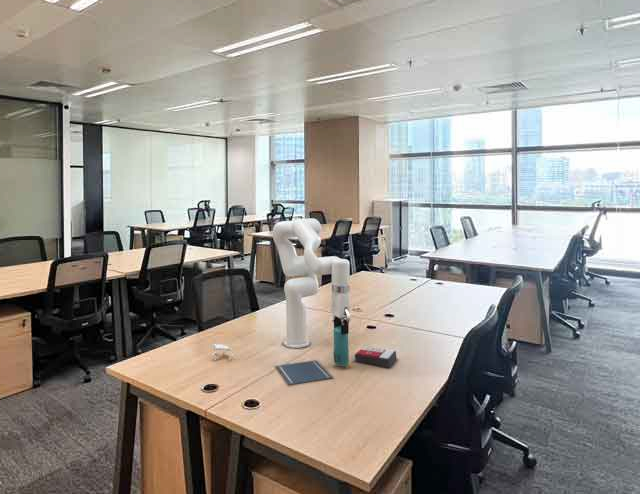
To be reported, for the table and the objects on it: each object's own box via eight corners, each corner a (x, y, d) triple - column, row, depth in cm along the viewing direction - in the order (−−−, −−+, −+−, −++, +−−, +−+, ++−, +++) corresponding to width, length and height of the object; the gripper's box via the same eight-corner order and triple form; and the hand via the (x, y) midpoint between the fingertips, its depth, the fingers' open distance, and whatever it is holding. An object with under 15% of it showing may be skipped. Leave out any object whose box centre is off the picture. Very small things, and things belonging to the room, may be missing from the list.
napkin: (276, 366, 180) (276, 366, 180) (315, 361, 185) (315, 360, 185) (289, 385, 163) (289, 384, 163) (332, 378, 168) (332, 377, 168)
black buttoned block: (363, 345, 194) (396, 349, 187) (364, 354, 194) (396, 359, 187) (354, 353, 185) (388, 357, 177) (355, 363, 184) (389, 368, 177)
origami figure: (205, 360, 188) (205, 348, 188) (215, 353, 195) (215, 342, 195) (229, 363, 183) (229, 352, 184) (238, 356, 191) (238, 345, 191)
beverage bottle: (350, 364, 181) (350, 317, 181) (347, 370, 175) (346, 322, 175) (335, 362, 184) (335, 316, 184) (331, 368, 177) (331, 320, 177)
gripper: (324, 285, 186) (324, 326, 186) (341, 294, 170) (341, 338, 170) (340, 283, 189) (340, 324, 189) (358, 292, 172) (358, 336, 172)
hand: (341, 330), depth 179 cm, fingers closed on beverage bottle, 6 cm apart
